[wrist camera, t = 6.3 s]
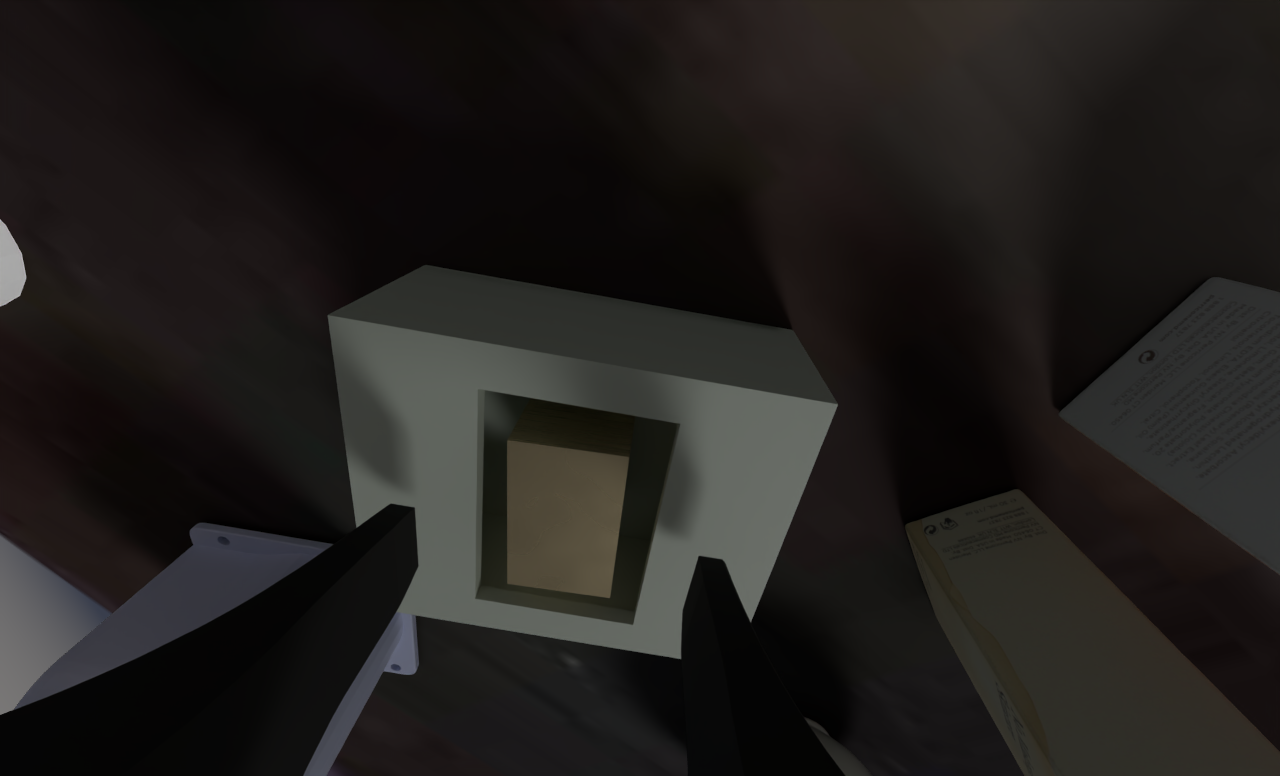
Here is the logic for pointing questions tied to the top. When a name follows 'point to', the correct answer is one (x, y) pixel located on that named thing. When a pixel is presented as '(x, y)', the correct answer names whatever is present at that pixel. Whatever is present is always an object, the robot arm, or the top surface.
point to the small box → (1201, 411)
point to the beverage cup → (10, 267)
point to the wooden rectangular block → (566, 496)
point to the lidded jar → (839, 752)
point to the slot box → (587, 377)
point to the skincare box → (1072, 654)
